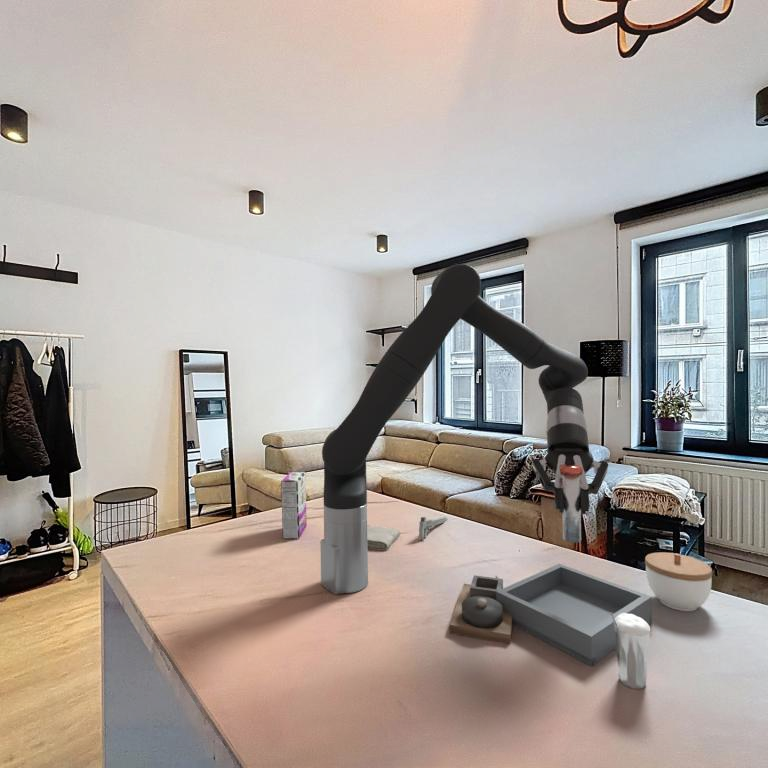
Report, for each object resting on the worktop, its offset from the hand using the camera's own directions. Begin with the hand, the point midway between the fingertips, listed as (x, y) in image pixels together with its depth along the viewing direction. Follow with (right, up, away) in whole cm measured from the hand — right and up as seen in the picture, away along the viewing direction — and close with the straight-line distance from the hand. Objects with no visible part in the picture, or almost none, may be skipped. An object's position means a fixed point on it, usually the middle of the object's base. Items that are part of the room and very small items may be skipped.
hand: (572, 510), depth 78 cm
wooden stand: (-14, -20, +4) cm, 25 cm away
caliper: (-18, -20, +51) cm, 58 cm away
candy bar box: (-59, -21, +50) cm, 80 cm away
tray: (+1, -20, +2) cm, 20 cm away
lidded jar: (+23, -20, +7) cm, 31 cm away
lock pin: (+1, -6, +2) cm, 6 cm away
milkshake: (+2, -20, -15) cm, 25 cm away
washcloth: (-38, -21, +44) cm, 62 cm away
